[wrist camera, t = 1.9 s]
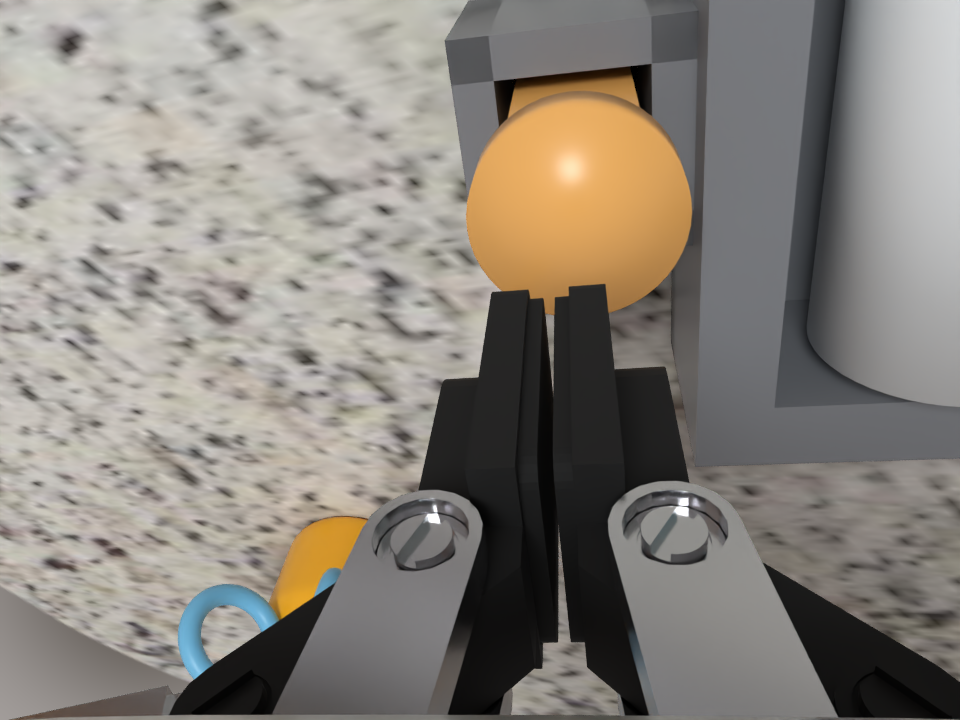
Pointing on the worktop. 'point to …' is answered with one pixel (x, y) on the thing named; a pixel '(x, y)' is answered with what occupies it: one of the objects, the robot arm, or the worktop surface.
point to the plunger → (579, 191)
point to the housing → (720, 205)
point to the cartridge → (893, 204)
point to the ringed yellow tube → (300, 580)
